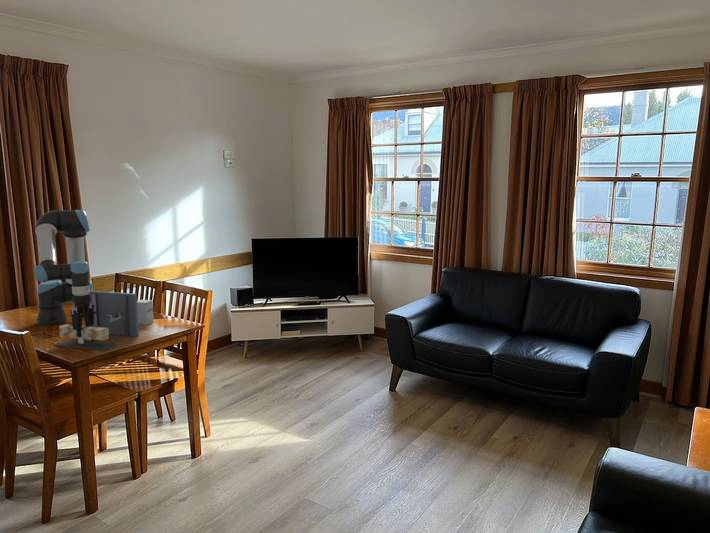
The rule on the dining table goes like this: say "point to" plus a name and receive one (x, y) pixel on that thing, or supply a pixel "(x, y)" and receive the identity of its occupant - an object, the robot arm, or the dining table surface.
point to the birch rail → (85, 332)
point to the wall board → (112, 304)
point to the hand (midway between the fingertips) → (84, 341)
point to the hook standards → (117, 314)
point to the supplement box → (145, 311)
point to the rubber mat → (85, 345)
